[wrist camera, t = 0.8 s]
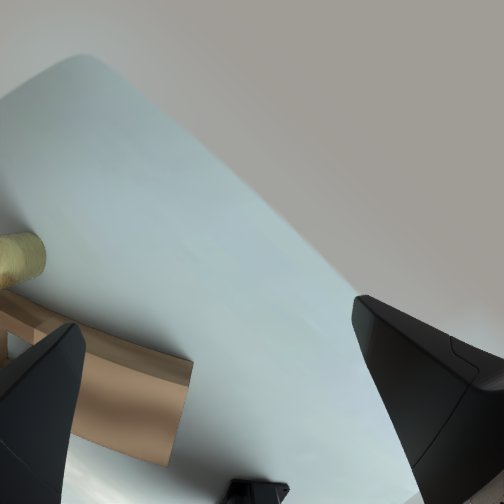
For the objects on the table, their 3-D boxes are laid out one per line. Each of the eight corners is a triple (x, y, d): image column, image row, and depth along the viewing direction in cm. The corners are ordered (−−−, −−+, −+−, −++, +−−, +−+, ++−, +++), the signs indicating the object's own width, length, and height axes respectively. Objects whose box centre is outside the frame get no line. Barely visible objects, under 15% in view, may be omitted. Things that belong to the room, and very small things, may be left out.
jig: (172, 439, 25) (167, 467, 21) (-2, 364, 22) (-23, 379, 18) (193, 362, 24) (188, 387, 20) (-2, 285, 22) (-28, 294, 18)
